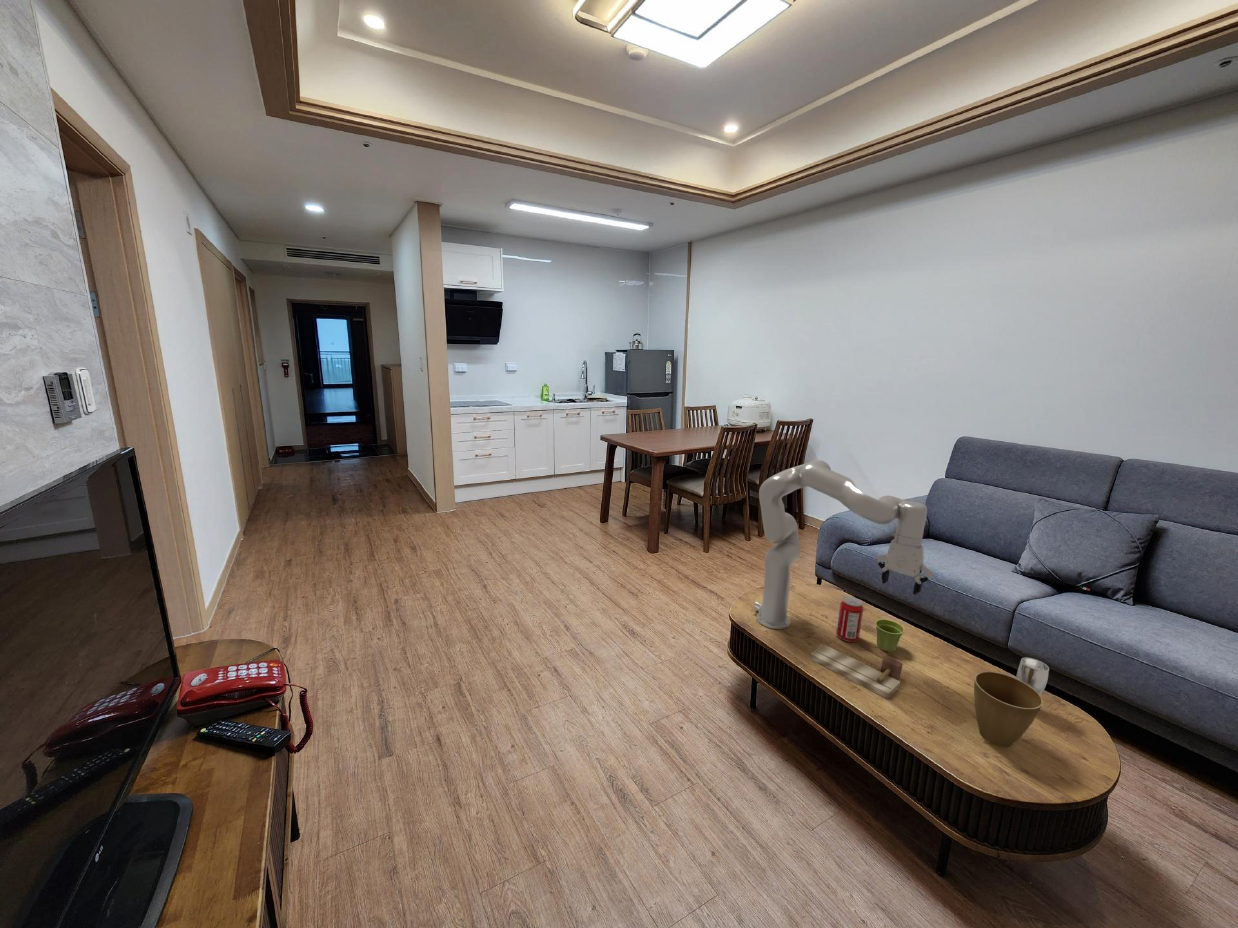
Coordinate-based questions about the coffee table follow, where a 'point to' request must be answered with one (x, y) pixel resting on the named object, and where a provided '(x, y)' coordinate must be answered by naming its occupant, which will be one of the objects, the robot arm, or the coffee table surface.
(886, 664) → the cube with stick handle
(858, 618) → the soda can
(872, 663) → the coffee table surface
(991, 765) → the coffee table surface
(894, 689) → the board
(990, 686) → the plant pot
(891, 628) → the plant pot
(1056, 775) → the coffee table surface
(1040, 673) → the beer glass
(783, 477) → the robot arm
